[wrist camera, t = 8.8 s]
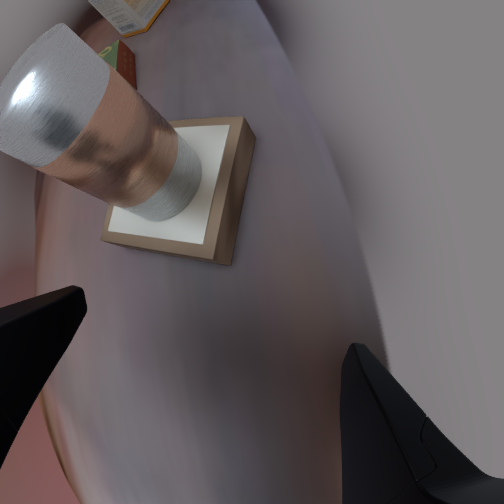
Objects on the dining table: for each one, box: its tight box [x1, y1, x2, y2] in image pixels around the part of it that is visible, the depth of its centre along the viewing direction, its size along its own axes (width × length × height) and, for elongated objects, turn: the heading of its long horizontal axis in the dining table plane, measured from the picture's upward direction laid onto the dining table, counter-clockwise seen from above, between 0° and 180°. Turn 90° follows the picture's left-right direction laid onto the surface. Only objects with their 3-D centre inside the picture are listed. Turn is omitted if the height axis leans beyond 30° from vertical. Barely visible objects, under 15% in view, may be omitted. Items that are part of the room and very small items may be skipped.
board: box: [100, 116, 256, 266], centre depth 21 cm, size 10×10×3 cm
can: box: [0, 23, 202, 222], centre depth 14 cm, size 6×6×13 cm
